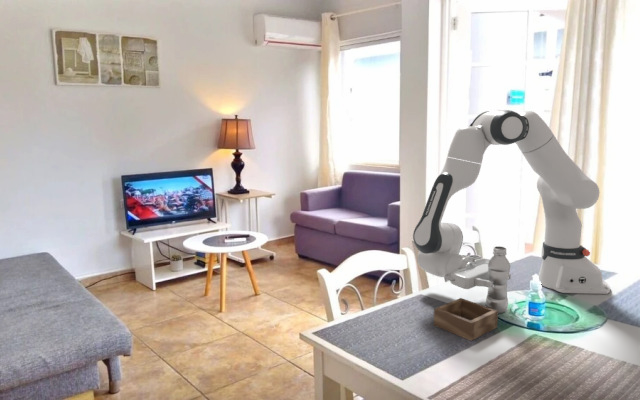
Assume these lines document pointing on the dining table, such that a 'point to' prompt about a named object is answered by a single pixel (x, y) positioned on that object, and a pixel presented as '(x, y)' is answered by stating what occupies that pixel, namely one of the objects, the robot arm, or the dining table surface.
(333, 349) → the dining table surface
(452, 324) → the open wooden box
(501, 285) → the plastic bottle
